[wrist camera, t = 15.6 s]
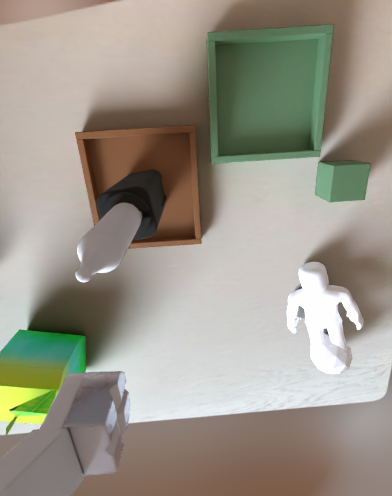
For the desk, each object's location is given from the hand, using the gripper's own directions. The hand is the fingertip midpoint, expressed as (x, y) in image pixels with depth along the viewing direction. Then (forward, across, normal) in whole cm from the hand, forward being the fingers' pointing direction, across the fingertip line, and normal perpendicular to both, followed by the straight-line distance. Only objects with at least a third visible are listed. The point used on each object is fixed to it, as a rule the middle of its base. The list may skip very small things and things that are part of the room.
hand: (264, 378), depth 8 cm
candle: (+33, +8, +1) cm, 34 cm away
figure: (+33, -18, +22) cm, 44 cm away
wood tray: (+33, +8, +1) cm, 34 cm away
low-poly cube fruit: (+33, +27, +28) cm, 51 cm away
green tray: (+33, -8, -10) cm, 35 cm away
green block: (+33, -18, 0) cm, 38 cm away
